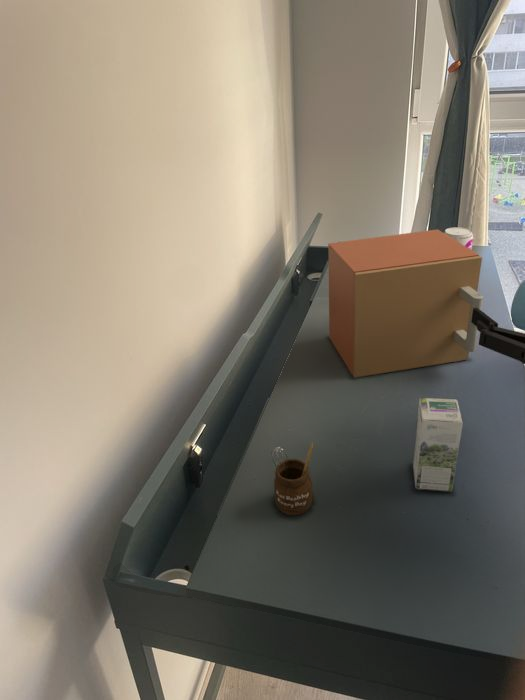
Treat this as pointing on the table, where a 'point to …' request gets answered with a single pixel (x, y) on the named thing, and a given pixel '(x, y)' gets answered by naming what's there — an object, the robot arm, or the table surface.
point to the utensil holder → (293, 485)
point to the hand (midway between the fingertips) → (510, 309)
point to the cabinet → (375, 257)
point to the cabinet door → (415, 315)
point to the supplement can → (461, 235)
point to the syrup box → (436, 444)
